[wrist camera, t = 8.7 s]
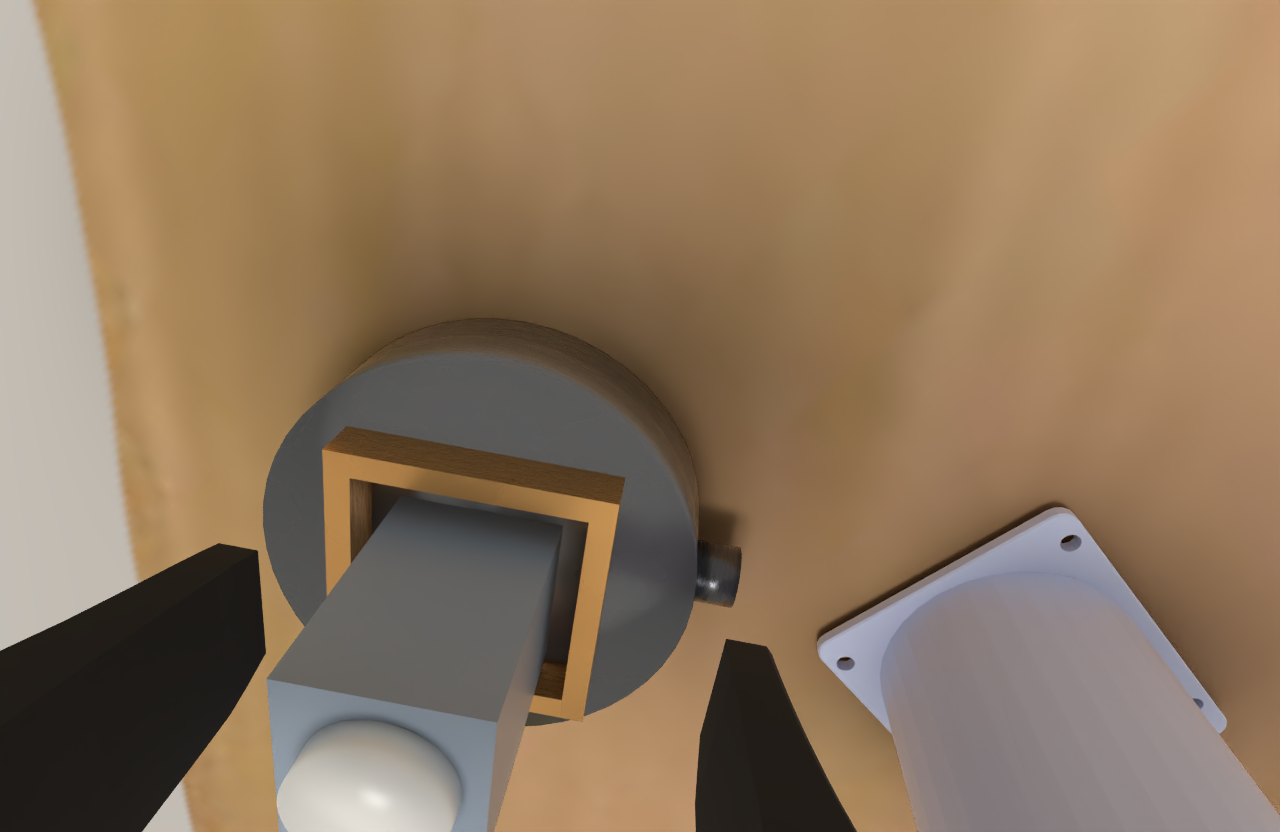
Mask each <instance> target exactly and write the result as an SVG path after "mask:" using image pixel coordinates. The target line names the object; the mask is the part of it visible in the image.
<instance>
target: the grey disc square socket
mask: <svg viewBox="0 0 1280 832" xmlns="http://www.w3.org/2000/svg"><path fill="white" fill-rule="evenodd" d="M400 496H403V497H409V498H414V499H419V500H425V501H430V502H436V503H441V504H446V505H452V506H457V507H463V508H468V509H473V510H479V511H484V512H490V513H495V514H500V515H506V516H511V517H517V518H522V519H528V520H533V521H538V522H544V523H549V524H555V525H560V526H563V531H562V538H561V546H560V554H559V561H558V569H557V576H556V584H555V591H554V599H553V606H552V614H551V621H550V629H549V637H548V644H547V651H546V655H545V658H544V662H543V665H542V669H541V672H540V675H539V679H538V682H537V686H536V689H535V693H534V696H533V699H532V703H531V706H530V710H529V713H528V717H527V720H526V723H525V726H538V725H545V724H552V723H558V722H564V721H568V720H575V721H580V722H582V721H583V716H586V715H588V714H591V713H593V712H596V711H598V710H601V709H603V708H606V707H608V706H610V705H612V704H614V703H615V702H617V701H619V700H621V699H623V698H624V697H626V696H628V695H629V694H631V693H632V692H633V691H635V690H636V689H637V688H639V687H640V686H641V685H643V684H644V683H645V682H647V681H648V680H649V679H650V678H651V677H652V676H653V675H654V674H655V673H656V672H657V671H658V670H659V669H660V668H661V667H662V666H663V664H664V663H665V661H666V660H667V659H668V657H669V656H670V655H671V653H672V652H673V651H674V649H675V648H676V646H677V644H678V642H679V640H680V638H681V636H682V634H683V632H684V630H685V629H686V626H687V623H688V620H689V617H690V614H691V610H692V607H693V602H694V601H697V602H703V603H708V604H713V605H719V606H724V607H729V608H731V607H732V606H733V603H734V601H735V597H736V593H737V589H738V584H739V578H740V571H741V558H742V553H741V548H740V547H734V546H729V545H724V544H718V543H713V542H708V541H702V540H698V533H699V491H698V485H697V479H696V473H695V469H694V466H693V463H692V460H691V457H690V453H689V450H688V448H687V446H686V444H685V442H684V440H683V437H682V435H681V433H680V431H679V429H678V427H677V426H676V424H675V423H674V421H673V420H672V418H671V417H670V415H669V413H668V412H667V410H666V409H665V407H664V406H663V405H662V404H661V402H660V401H659V400H658V399H657V398H656V397H655V396H654V394H653V393H652V392H651V391H650V390H649V389H648V387H647V386H646V385H645V384H643V383H642V382H641V381H640V380H639V379H638V378H637V377H636V376H635V375H633V374H632V373H631V372H630V371H629V370H628V369H627V368H625V367H624V366H623V365H621V364H620V363H618V362H617V361H615V360H614V359H612V358H611V357H610V356H608V355H607V354H605V353H604V352H602V351H600V350H598V349H596V348H595V347H593V346H591V345H589V344H587V343H585V342H583V341H581V340H579V339H577V338H575V337H572V336H569V335H567V334H564V333H561V332H559V331H556V330H553V329H550V328H546V327H542V326H538V325H534V324H530V323H526V322H520V321H511V320H503V319H466V320H459V321H452V322H445V323H440V324H437V325H433V326H430V327H426V328H423V329H419V330H417V331H414V332H412V333H410V334H408V335H406V336H403V337H401V338H399V339H397V340H395V341H393V342H392V343H390V344H388V345H387V346H385V347H384V348H382V349H381V350H379V351H378V352H376V353H375V354H373V355H372V356H371V357H370V358H369V359H368V360H366V361H365V362H364V363H363V364H362V365H360V366H359V367H358V368H357V369H356V370H355V371H353V372H352V373H351V374H350V375H349V376H347V377H346V378H345V379H344V380H343V381H341V382H340V383H339V384H338V385H337V386H336V387H334V388H333V389H332V390H331V391H330V392H328V393H327V394H326V395H325V396H324V397H323V398H321V399H320V400H319V401H318V402H317V403H316V404H315V405H314V406H312V407H311V408H310V409H309V410H308V411H307V412H306V413H305V414H303V415H302V416H301V418H300V419H299V420H298V421H297V423H296V424H295V425H294V426H293V428H292V429H291V430H290V431H289V433H288V434H287V435H286V437H285V439H284V441H283V443H282V444H281V446H280V448H279V450H278V452H277V453H276V455H275V458H274V460H273V463H272V466H271V469H270V472H269V475H268V478H267V483H266V489H265V495H264V501H263V527H264V534H265V541H266V547H267V552H268V555H269V558H270V562H271V565H272V568H273V572H274V574H275V576H276V578H277V581H278V583H279V585H280V587H281V590H282V592H283V594H284V596H285V597H286V599H287V601H288V602H289V604H290V606H291V607H292V609H293V611H294V612H295V614H296V616H297V617H298V618H299V619H300V621H301V622H302V623H303V625H304V626H306V625H307V623H308V622H309V620H310V619H311V618H312V616H313V615H314V614H315V612H316V611H317V610H318V608H319V607H320V605H321V604H322V603H323V601H324V600H325V599H326V597H327V596H328V595H329V593H330V592H331V590H332V589H333V588H334V586H335V585H336V584H337V582H338V581H339V580H340V578H341V577H342V575H343V574H344V573H345V571H346V570H347V569H348V567H349V566H350V565H351V563H352V562H353V560H354V559H355V558H356V556H357V555H358V554H359V552H360V551H361V550H362V548H363V547H364V545H365V544H366V543H367V541H368V540H369V539H370V537H371V536H372V535H373V533H374V532H375V530H376V529H377V528H378V526H379V525H380V524H381V522H382V521H383V520H384V518H385V517H386V515H387V514H388V513H389V511H390V510H391V509H392V507H393V506H394V505H395V503H396V502H397V500H398V499H399V498H400Z"/></svg>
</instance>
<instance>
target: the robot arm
mask: <svg viewBox="0 0 1280 832" xmlns="http://www.w3.org/2000/svg"><path fill="white" fill-rule="evenodd" d="M1069 535H1075V536H1074V538H1073V539H1072V540H1071V541H1070V542H1066V543H1061V540H1062V539H1063V538H1065V537H1066V536H1069ZM817 650H818V655H819V657H820V659H821V660H822V661H823V662H824V663H825V664H826V665H827V666H828V667H829V669H830V670H831V671H832V672H833V673H834V674H835V675H836V676H837V677H838V678H839V679H840V680H841V681H842V682H843V683H844V684H845V685H846V686H847V688H848V689H849V690H850V691H851V692H852V693H853V694H854V695H855V696H856V697H857V698H858V699H859V700H860V701H861V702H862V703H863V704H864V706H865V707H866V708H867V709H868V710H869V711H870V712H871V713H872V714H873V715H874V716H875V717H876V718H877V719H878V720H879V721H880V722H881V724H882V725H883V726H884V727H885V728H886V729H887V730H888V731H889V732H890V733H891V734H892V735H893V739H894V743H895V747H896V751H897V754H898V758H899V762H900V766H901V770H902V774H903V778H904V781H905V785H906V789H907V793H908V797H909V801H910V804H911V808H912V812H913V816H914V820H915V824H916V828H917V831H918V832H1280V815H1279V814H1278V813H1277V811H1276V810H1275V809H1274V807H1273V806H1272V805H1271V803H1270V802H1269V801H1268V799H1267V798H1266V797H1265V795H1264V794H1263V792H1262V791H1261V790H1260V788H1259V787H1258V786H1257V784H1256V783H1255V782H1254V780H1253V779H1252V778H1251V776H1250V775H1249V774H1248V772H1247V771H1246V770H1245V768H1244V767H1243V766H1242V764H1241V763H1240V762H1239V760H1238V759H1237V758H1236V756H1235V755H1234V754H1233V752H1232V751H1231V750H1230V748H1229V747H1228V746H1227V744H1226V743H1225V742H1224V740H1223V739H1222V738H1221V736H1220V735H1219V734H1220V733H1221V732H1222V731H1223V730H1224V729H1225V728H1226V725H1227V720H1226V717H1225V716H1224V715H1223V713H1222V712H1221V711H1220V709H1219V708H1218V707H1217V705H1216V704H1215V703H1214V701H1213V700H1212V699H1211V697H1210V696H1209V695H1208V693H1207V692H1206V691H1205V689H1204V688H1203V686H1202V685H1201V684H1200V682H1199V681H1198V680H1197V678H1196V677H1195V676H1194V674H1193V673H1192V672H1191V670H1190V669H1189V668H1188V666H1187V665H1186V664H1185V662H1184V661H1183V660H1182V658H1181V657H1180V656H1179V654H1178V653H1177V651H1176V650H1175V649H1174V647H1173V646H1172V645H1171V643H1170V642H1169V641H1168V639H1167V638H1166V637H1165V635H1164V634H1163V633H1162V631H1161V630H1160V629H1159V627H1158V626H1157V625H1156V623H1155V622H1154V620H1153V619H1152V618H1151V616H1150V615H1149V614H1148V612H1147V611H1146V610H1145V608H1144V607H1143V606H1142V604H1141V603H1140V602H1139V600H1138V599H1137V598H1136V596H1135V595H1134V594H1133V592H1132V591H1131V589H1130V588H1129V587H1128V585H1127V584H1126V583H1125V581H1124V580H1123V579H1122V577H1121V576H1120V575H1119V573H1118V572H1117V571H1116V569H1115V568H1114V567H1113V565H1112V564H1111V563H1110V561H1109V560H1108V558H1107V557H1106V556H1105V554H1104V553H1103V552H1102V550H1101V549H1100V548H1099V546H1098V545H1097V544H1096V542H1095V541H1094V540H1093V538H1092V537H1091V536H1090V534H1089V533H1088V532H1087V530H1086V529H1085V527H1084V526H1083V525H1082V523H1081V522H1080V521H1079V519H1078V518H1077V517H1076V516H1075V514H1074V513H1073V512H1071V511H1070V510H1069V509H1066V508H1063V507H1056V508H1051V509H1049V510H1046V511H1044V512H1043V513H1041V514H1039V515H1037V516H1035V517H1034V518H1032V519H1030V520H1028V521H1026V522H1025V523H1023V524H1021V525H1019V526H1017V527H1016V528H1014V529H1012V530H1010V531H1008V532H1007V533H1005V534H1003V535H1001V536H999V537H998V538H996V539H994V540H992V541H990V542H989V543H987V544H985V545H983V546H981V547H980V548H978V549H976V550H974V551H973V552H971V553H969V554H967V555H965V556H964V557H962V558H960V559H958V560H956V561H955V562H953V563H951V564H949V565H947V566H946V567H944V568H942V569H940V570H938V571H937V572H935V573H933V574H931V575H929V576H928V577H926V578H924V579H922V580H920V581H919V582H917V583H915V584H913V585H912V586H910V587H908V588H906V589H904V590H903V591H901V592H899V593H897V594H895V595H894V596H892V597H890V598H888V599H886V600H885V601H883V602H881V603H879V604H877V605H876V606H874V607H872V608H870V609H868V610H867V611H865V612H863V613H861V614H859V615H858V616H856V617H854V618H852V619H850V620H849V621H847V622H845V623H843V624H842V625H840V626H838V627H836V628H834V629H833V630H831V631H829V632H827V633H825V634H824V635H823V636H821V637H820V638H819V640H818V642H817ZM265 653H266V648H265V636H264V623H263V610H262V598H261V585H260V573H259V560H258V551H257V550H252V549H246V548H241V547H236V546H230V545H225V544H220V543H218V544H216V545H214V546H212V547H210V548H208V549H205V550H203V551H201V552H199V553H197V554H195V555H193V556H191V557H189V558H187V559H185V560H183V561H181V562H179V563H177V564H175V565H173V566H171V567H169V568H167V569H165V570H164V571H162V572H160V573H158V574H156V575H154V576H152V577H150V578H148V579H146V580H144V581H142V582H140V583H138V584H136V585H134V586H133V587H131V588H129V589H127V590H125V591H123V592H121V593H119V594H117V595H115V596H113V597H111V598H109V599H107V600H105V601H103V602H101V603H99V604H97V605H95V606H93V607H91V608H89V609H87V610H85V611H83V612H81V613H79V614H77V615H75V616H73V617H71V618H69V619H68V620H65V621H63V622H61V623H59V624H57V625H55V626H52V627H50V628H48V629H46V630H44V631H42V632H40V633H37V634H35V635H33V636H31V637H29V638H27V639H25V640H23V641H20V642H18V643H16V644H14V645H12V646H10V647H7V648H5V649H3V650H1V651H0V832H142V831H143V830H144V828H145V827H146V826H147V824H148V823H149V822H150V820H151V819H152V818H153V816H154V815H155V814H156V813H157V811H158V810H159V809H160V807H161V806H162V805H163V803H164V802H165V801H166V799H167V798H168V797H169V795H170V794H171V793H172V791H173V790H174V789H175V788H176V786H177V785H178V784H179V782H180V781H181V780H182V778H183V777H184V776H185V774H186V773H187V772H188V770H189V769H190V768H191V767H192V765H193V764H194V763H195V761H196V760H197V759H198V757H199V756H200V755H201V753H202V752H203V751H204V749H205V748H206V747H207V745H208V744H209V743H210V741H211V740H212V739H213V737H214V736H215V735H216V733H217V732H218V731H219V729H220V728H221V726H222V725H223V724H224V722H225V721H226V720H227V718H228V717H229V715H230V714H231V712H232V711H233V709H234V707H235V706H236V704H237V702H238V701H239V699H240V697H241V696H242V694H243V692H244V691H245V689H246V687H247V686H248V684H249V682H250V680H251V679H252V677H253V675H254V673H255V671H256V670H257V668H258V666H259V664H260V662H261V661H262V659H263V657H264V655H265ZM842 657H850V659H849V660H847V661H839V659H840V658H842ZM695 816H696V832H857V831H856V829H855V828H854V826H853V824H852V822H851V821H850V819H849V817H848V815H847V813H846V812H845V810H844V808H843V806H842V805H841V803H840V801H839V799H838V797H837V795H836V793H835V792H834V790H833V788H832V786H831V784H830V782H829V780H828V778H827V776H826V774H825V772H824V770H823V768H822V766H821V764H820V762H819V760H818V758H817V756H816V754H815V752H814V750H813V748H812V746H811V744H810V742H809V740H808V738H807V736H806V734H805V732H804V730H803V728H802V725H801V723H800V721H799V719H798V717H797V714H796V712H795V710H794V708H793V705H792V703H791V701H790V698H789V696H788V694H787V691H786V689H785V687H784V684H783V682H782V679H781V677H780V674H779V672H778V669H777V667H776V664H775V661H774V659H773V656H772V654H771V652H770V651H769V649H768V648H767V647H766V646H761V645H756V644H751V643H745V642H740V641H735V640H729V639H726V642H725V645H724V649H723V653H722V657H721V660H720V664H719V668H718V671H717V675H716V679H715V683H714V686H713V690H712V694H711V697H710V701H709V705H708V709H707V712H706V716H705V720H704V723H703V727H702V731H701V734H700V744H699V757H698V770H697V784H696V799H695Z"/></svg>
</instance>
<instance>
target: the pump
mask: <svg viewBox="0 0 1280 832" xmlns="http://www.w3.org/2000/svg"><path fill="white" fill-rule="evenodd" d="M562 531H563V526H560V525H555V524H549V523H544V522H538V521H533V520H528V519H522V518H517V517H511V516H506V515H500V514H495V513H490V512H484V511H479V510H473V509H468V508H463V507H457V506H452V505H446V504H441V503H436V502H430V501H425V500H419V499H414V498H409V497H403V496H400V498H399V499H398V500H397V502H396V503H395V505H394V506H393V507H392V509H391V510H390V511H389V513H388V514H387V515H386V517H385V518H384V520H383V521H382V522H381V524H380V525H379V526H378V528H377V529H376V530H375V532H374V533H373V535H372V536H371V537H370V539H369V540H368V541H367V543H366V544H365V545H364V547H363V548H362V550H361V551H360V552H359V554H358V555H357V556H356V558H355V559H354V560H353V562H352V563H351V565H350V566H349V567H348V569H347V570H346V571H345V573H344V574H343V575H342V577H341V578H340V580H339V581H338V582H337V584H336V585H335V586H334V588H333V589H332V590H331V592H330V593H329V595H328V596H327V597H326V599H325V600H324V601H323V603H322V604H321V605H320V607H319V608H318V610H317V611H316V612H315V614H314V615H313V616H312V618H311V619H310V620H309V622H308V623H307V625H306V626H305V627H304V629H303V630H302V631H301V633H300V634H299V635H298V637H297V638H296V640H295V641H294V642H293V644H292V645H291V646H290V648H289V649H288V650H287V652H286V653H285V655H284V656H283V657H282V659H281V660H280V661H279V663H278V664H277V665H276V667H275V668H274V670H273V671H272V672H271V674H270V675H269V676H268V678H267V689H268V701H269V713H270V725H271V737H272V750H273V762H274V774H275V786H276V798H277V810H278V822H279V832H494V830H495V826H496V823H497V820H498V816H499V813H500V809H501V806H502V802H503V799H504V796H505V792H506V789H507V785H508V782H509V778H510V775H511V772H512V768H513V765H514V761H515V758H516V754H517V751H518V748H519V744H520V741H521V737H522V734H523V730H524V727H525V723H526V720H527V717H528V713H529V710H530V706H531V703H532V699H533V696H534V693H535V689H536V686H537V682H538V679H539V675H540V672H541V669H542V665H543V662H544V658H545V655H546V651H547V644H548V637H549V629H550V621H551V614H552V606H553V599H554V591H555V584H556V576H557V569H558V561H559V554H560V546H561V538H562Z"/></svg>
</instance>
